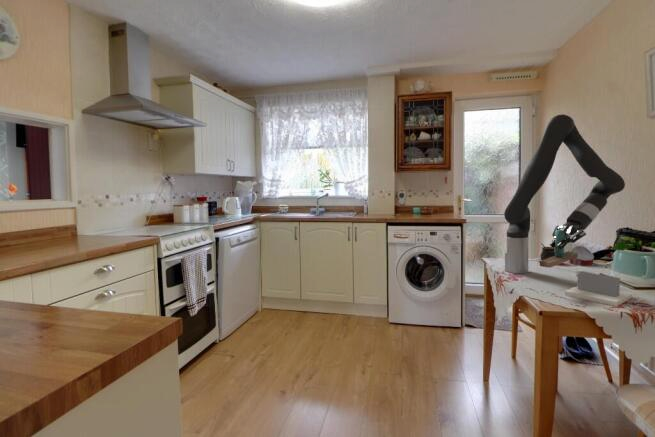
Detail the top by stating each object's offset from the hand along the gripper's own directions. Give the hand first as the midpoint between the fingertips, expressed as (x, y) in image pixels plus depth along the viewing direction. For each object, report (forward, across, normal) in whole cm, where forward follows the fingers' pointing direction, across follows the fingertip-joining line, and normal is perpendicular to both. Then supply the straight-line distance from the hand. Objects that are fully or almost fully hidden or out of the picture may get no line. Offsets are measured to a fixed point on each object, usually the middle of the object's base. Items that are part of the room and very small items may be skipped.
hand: (555, 247), depth 139 cm
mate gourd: (-6, -35, +31) cm, 47 cm away
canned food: (-15, -28, +40) cm, 51 cm away
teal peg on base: (+3, 0, +6) cm, 7 cm away
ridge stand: (+7, +14, +16) cm, 22 cm away
